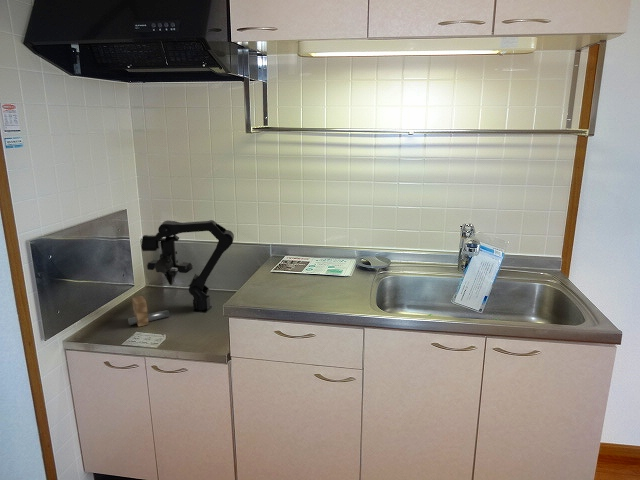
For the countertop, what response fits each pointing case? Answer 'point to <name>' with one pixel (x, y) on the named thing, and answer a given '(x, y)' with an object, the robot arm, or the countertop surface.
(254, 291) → the countertop surface
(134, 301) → the rectangular wooden block
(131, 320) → the steel pipe
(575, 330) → the countertop surface
